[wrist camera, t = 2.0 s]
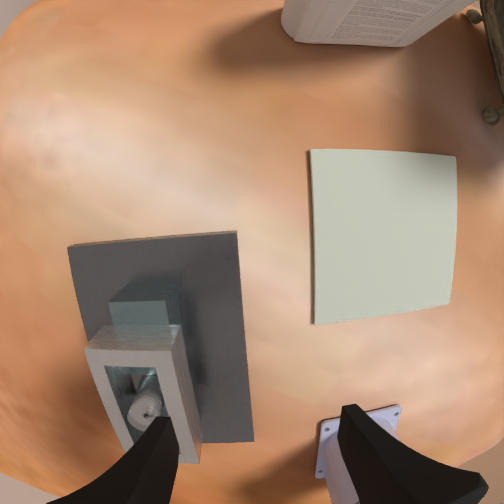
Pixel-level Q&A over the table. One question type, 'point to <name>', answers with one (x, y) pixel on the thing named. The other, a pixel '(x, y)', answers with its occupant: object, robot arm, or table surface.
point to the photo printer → (365, 20)
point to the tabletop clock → (493, 46)
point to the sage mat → (381, 232)
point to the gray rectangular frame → (168, 371)
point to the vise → (175, 318)
